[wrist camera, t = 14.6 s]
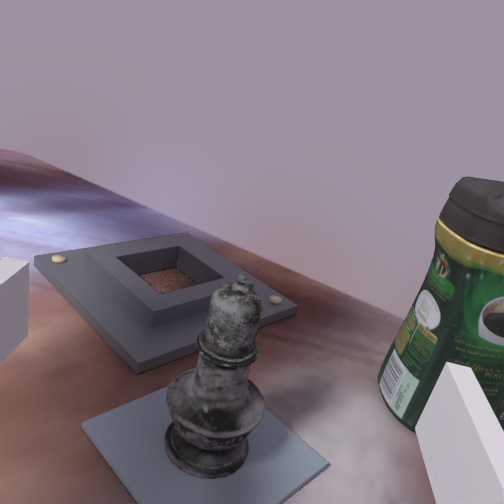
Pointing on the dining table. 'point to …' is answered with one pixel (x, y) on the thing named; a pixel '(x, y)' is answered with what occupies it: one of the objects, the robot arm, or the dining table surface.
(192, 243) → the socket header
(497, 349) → the coffee jar
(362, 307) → the dining table surface
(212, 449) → the salt shaker
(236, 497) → the slate mat
